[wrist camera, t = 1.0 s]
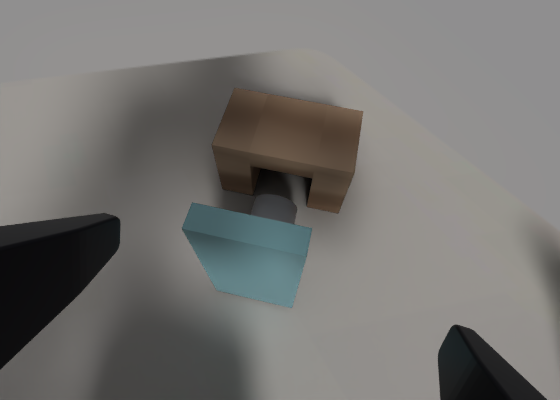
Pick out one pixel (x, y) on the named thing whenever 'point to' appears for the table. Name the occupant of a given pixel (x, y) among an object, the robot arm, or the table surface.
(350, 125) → the socket block
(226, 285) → the pale blue board
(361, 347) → the table surface
